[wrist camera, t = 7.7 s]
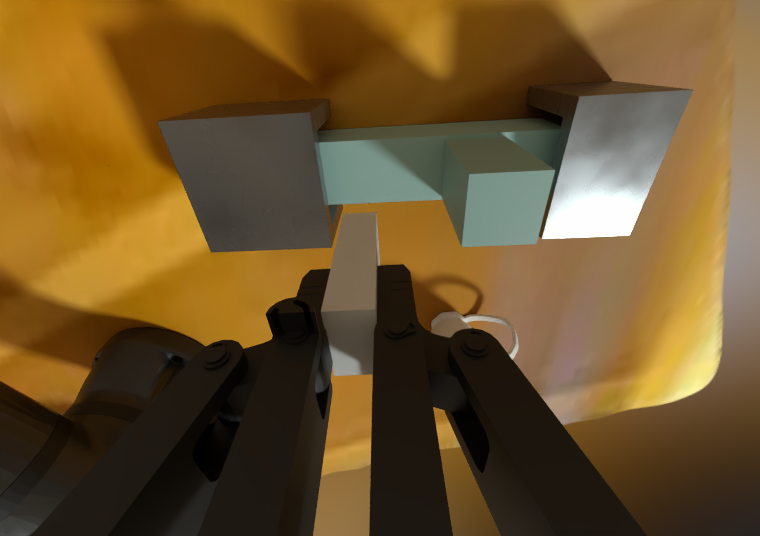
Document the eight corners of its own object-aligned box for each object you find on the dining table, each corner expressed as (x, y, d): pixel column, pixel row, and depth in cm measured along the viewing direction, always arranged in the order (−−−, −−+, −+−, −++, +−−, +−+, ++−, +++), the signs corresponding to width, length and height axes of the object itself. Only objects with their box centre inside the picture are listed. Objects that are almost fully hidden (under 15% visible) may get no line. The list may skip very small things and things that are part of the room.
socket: (508, 200, 28) (541, 238, 22) (529, 86, 23) (579, 96, 17) (577, 197, 28) (629, 235, 22) (613, 81, 23) (693, 89, 17)
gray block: (246, 212, 29) (211, 252, 23) (213, 105, 24) (156, 121, 18) (342, 207, 29) (331, 247, 23) (328, 98, 24) (309, 112, 18)
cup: (408, 316, 36) (413, 375, 30) (492, 282, 33) (519, 338, 27) (434, 352, 40) (444, 412, 33) (512, 323, 37) (540, 383, 30)
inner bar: (297, 186, 28) (247, 259, 18) (285, 132, 25) (221, 181, 15) (539, 174, 27) (629, 244, 17) (552, 117, 24) (668, 158, 14)
